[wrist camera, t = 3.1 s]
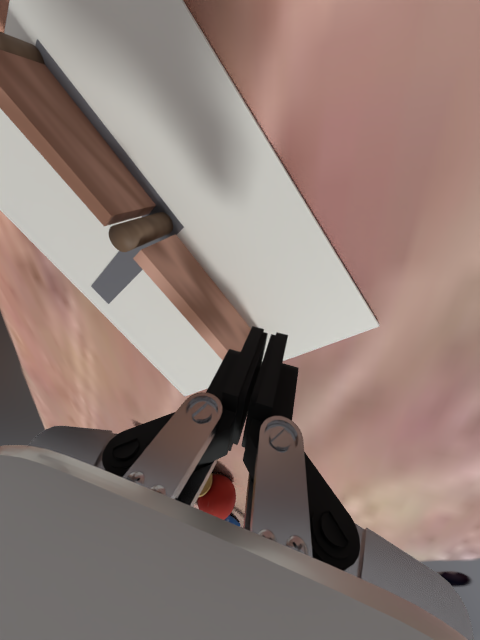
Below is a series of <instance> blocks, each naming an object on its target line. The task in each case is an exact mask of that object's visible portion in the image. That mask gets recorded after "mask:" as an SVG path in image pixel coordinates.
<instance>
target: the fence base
mask: <svg viewBox="0 0 480 640" xmlns="http://www.w3.org/2000/svg"><path fill="white" fill-rule="evenodd" d="M0 108H1V110H2V111H3V112H4V113H5V114H6V115H7V116H8V117H9V119H10V120H11V121H12V122H13V123H14V124H15V125H16V127H17V128H18V129H19V130H20V131H21V132H22V133H23V135H24V136H25V137H26V138H27V139H28V140H29V141H30V143H31V144H32V145H33V146H34V147H35V148H36V149H37V151H38V152H39V153H40V154H41V155H42V156H43V157H44V159H45V160H46V161H47V162H48V163H49V164H50V165H51V166H52V168H53V169H54V170H55V171H56V172H57V173H58V174H59V176H60V177H61V178H62V179H63V180H64V181H65V182H66V184H67V185H68V186H69V187H70V188H71V189H72V190H73V192H74V193H75V194H76V195H77V196H78V197H79V198H80V200H81V201H82V202H83V203H84V204H85V205H86V206H87V207H88V209H89V210H90V211H91V212H92V213H93V214H94V215H95V217H96V218H97V219H98V220H99V221H100V222H101V223H102V225H103V226H107V225H111V224H115V223H118V222H122V221H126V220H129V219H133V218H136V217H140V216H144V215H147V214H149V213H150V212H151V211H152V210H153V208H154V207H155V206H156V204H155V203H154V202H153V201H152V199H151V198H150V197H149V196H148V194H147V193H146V192H145V190H144V189H143V188H142V187H141V185H140V184H139V183H138V182H137V180H136V179H135V178H134V177H133V175H132V174H131V173H130V172H129V170H128V169H127V168H126V166H125V165H124V164H123V163H122V161H121V160H120V159H119V158H118V156H117V155H116V154H115V153H114V151H113V150H112V149H111V148H110V146H109V145H108V144H107V142H106V141H105V140H104V139H103V137H102V136H101V135H100V134H99V132H98V131H97V130H96V129H95V127H94V126H93V125H92V123H91V122H90V121H89V120H88V118H87V117H86V116H85V115H84V113H83V112H82V111H81V110H80V108H79V107H78V106H77V105H76V103H75V102H74V101H73V99H72V98H71V97H70V96H69V94H68V93H67V92H66V91H65V89H64V88H63V87H62V86H61V84H60V83H59V82H58V81H57V79H56V78H55V77H54V75H53V74H52V73H51V72H50V70H49V69H48V68H47V67H46V65H45V63H44V60H43V57H42V55H41V53H40V51H39V50H38V49H37V48H36V47H35V46H34V45H33V44H30V43H28V42H25V41H23V40H20V39H18V38H15V37H12V36H10V35H7V34H5V33H2V32H0ZM172 230H173V222H172V220H171V218H170V217H169V216H168V215H167V214H166V213H164V212H159V213H155V214H152V215H148V216H145V217H141V218H137V219H134V220H130V221H127V222H123V223H120V224H116V225H113V226H111V227H110V229H109V239H110V241H111V243H112V244H113V246H114V247H115V248H116V249H117V250H119V251H121V252H128V251H130V250H133V249H135V248H137V247H140V246H142V245H144V244H147V243H149V242H151V241H153V240H156V239H158V238H160V237H163V236H165V235H167V234H170V233H171V232H172Z"/></svg>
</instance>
